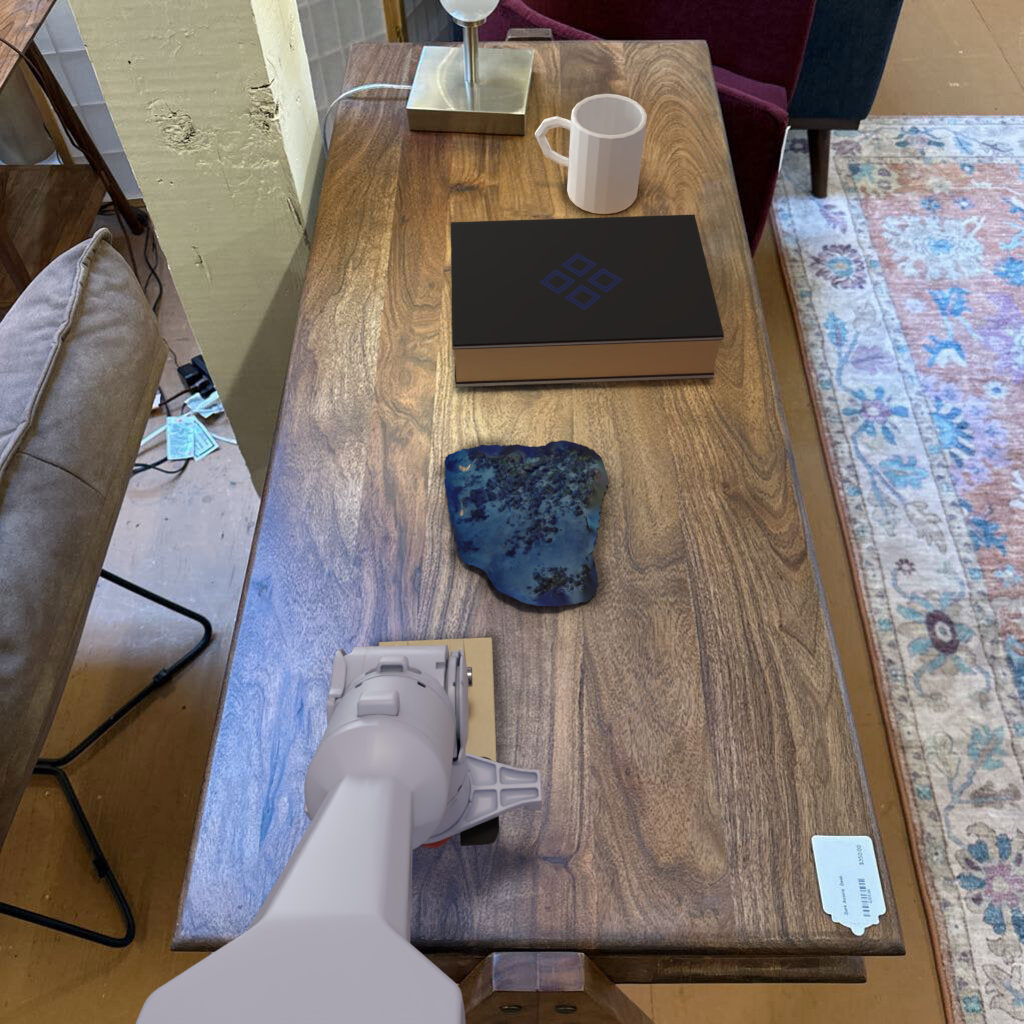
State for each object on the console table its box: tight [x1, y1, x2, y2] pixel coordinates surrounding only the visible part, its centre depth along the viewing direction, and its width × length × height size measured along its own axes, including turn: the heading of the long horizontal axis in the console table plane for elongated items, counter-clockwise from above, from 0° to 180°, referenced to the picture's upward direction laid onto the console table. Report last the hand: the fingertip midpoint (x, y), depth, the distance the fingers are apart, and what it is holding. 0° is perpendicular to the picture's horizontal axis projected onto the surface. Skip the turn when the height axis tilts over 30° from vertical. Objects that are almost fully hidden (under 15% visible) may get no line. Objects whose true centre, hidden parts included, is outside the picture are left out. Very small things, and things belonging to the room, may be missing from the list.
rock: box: [443, 439, 610, 608], centre depth 80 cm, size 15×17×2 cm
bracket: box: [378, 637, 498, 762], centre depth 68 cm, size 11×9×8 cm
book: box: [450, 214, 725, 389], centre depth 92 cm, size 17×25×7 cm
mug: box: [534, 93, 648, 215], centre depth 103 cm, size 8×12×10 cm
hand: (434, 831), depth 64 cm, fingers open, 4 cm apart
